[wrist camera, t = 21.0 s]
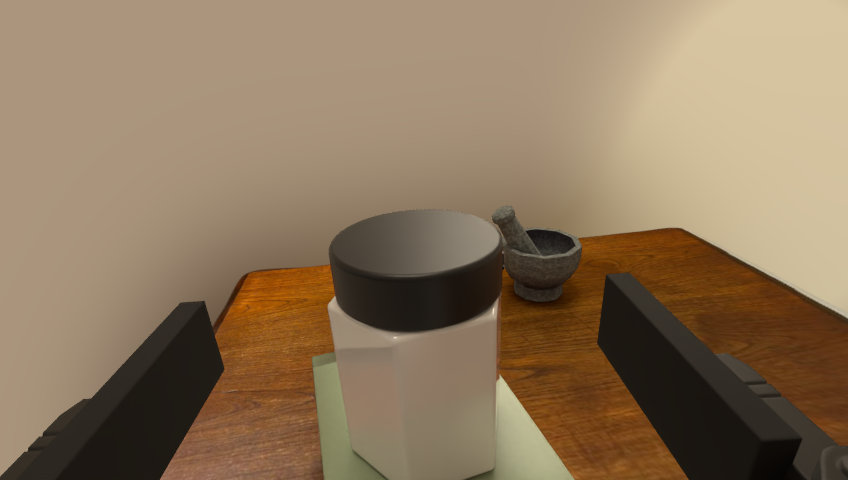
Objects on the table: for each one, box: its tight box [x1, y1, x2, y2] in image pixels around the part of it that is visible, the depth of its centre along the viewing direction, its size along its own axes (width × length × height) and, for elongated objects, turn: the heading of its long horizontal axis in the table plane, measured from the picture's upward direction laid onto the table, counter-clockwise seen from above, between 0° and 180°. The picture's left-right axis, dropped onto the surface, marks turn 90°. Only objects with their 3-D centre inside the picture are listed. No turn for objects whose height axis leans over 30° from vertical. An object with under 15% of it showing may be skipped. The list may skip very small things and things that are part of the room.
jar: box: [328, 209, 504, 480], centre depth 22 cm, size 9×8×12 cm
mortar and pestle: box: [492, 206, 582, 302], centre depth 53 cm, size 11×9×12 cm
